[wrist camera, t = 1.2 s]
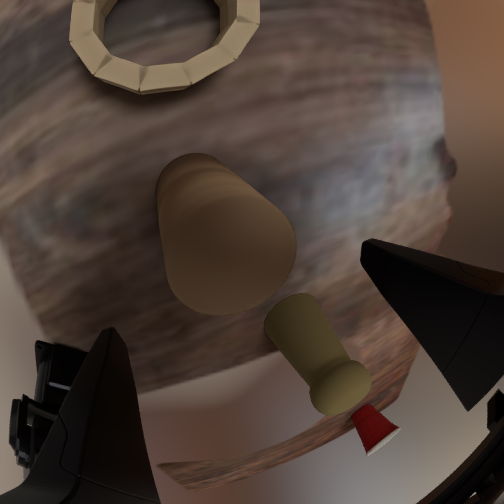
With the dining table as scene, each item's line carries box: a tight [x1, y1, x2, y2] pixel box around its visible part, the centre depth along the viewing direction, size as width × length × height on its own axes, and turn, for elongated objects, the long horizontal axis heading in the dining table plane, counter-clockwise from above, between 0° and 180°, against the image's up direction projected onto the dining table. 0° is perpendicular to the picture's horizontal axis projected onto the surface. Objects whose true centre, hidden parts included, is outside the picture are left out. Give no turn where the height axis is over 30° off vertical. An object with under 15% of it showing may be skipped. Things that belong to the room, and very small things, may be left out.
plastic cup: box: [352, 404, 401, 456], centre depth 52 cm, size 11×11×12 cm
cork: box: [264, 293, 371, 416], centre depth 22 cm, size 6×6×11 cm
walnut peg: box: [156, 153, 296, 316], centre depth 14 cm, size 5×5×9 cm
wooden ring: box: [69, 0, 260, 95], centre depth 10 cm, size 9×9×4 cm
